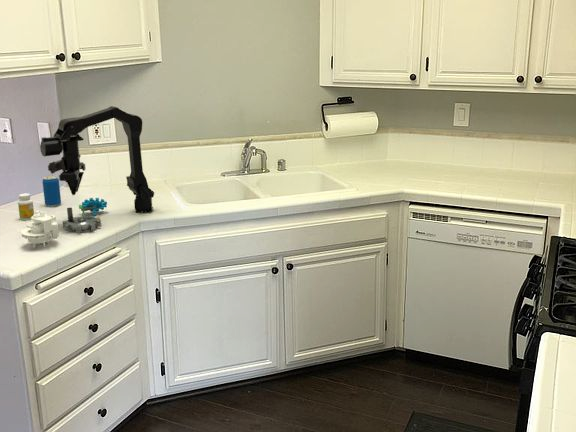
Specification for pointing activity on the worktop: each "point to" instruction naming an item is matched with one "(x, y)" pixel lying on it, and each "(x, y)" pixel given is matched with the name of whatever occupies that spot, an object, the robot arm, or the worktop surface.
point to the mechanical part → (41, 229)
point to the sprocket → (80, 222)
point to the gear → (92, 205)
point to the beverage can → (51, 191)
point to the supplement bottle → (25, 207)
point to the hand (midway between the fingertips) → (74, 193)
